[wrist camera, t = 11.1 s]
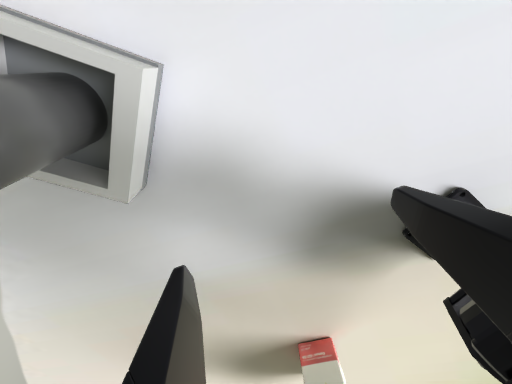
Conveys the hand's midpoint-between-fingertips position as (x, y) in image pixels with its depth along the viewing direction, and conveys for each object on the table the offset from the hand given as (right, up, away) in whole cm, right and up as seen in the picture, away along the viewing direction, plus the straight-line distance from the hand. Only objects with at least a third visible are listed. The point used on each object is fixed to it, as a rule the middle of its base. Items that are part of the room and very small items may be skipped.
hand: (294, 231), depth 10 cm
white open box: (-15, +8, +9) cm, 19 cm away
